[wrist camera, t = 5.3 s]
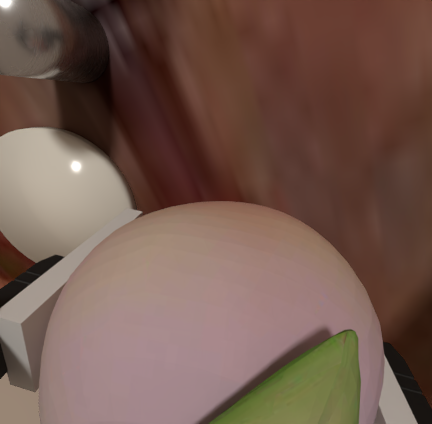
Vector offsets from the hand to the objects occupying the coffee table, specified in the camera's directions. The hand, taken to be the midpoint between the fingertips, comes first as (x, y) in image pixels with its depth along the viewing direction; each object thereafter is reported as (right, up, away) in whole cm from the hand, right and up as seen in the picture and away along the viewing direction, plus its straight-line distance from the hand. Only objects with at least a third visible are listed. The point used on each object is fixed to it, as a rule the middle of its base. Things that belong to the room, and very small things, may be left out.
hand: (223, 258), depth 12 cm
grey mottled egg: (-11, +15, +7) cm, 20 cm away
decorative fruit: (0, 0, +1) cm, 1 cm away
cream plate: (-15, +3, +13) cm, 21 cm away
